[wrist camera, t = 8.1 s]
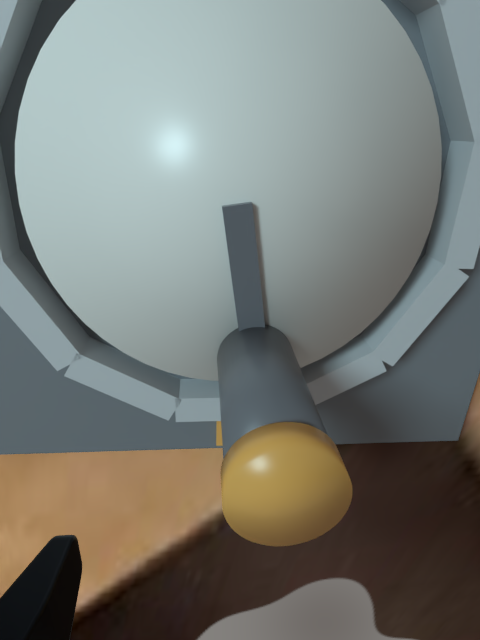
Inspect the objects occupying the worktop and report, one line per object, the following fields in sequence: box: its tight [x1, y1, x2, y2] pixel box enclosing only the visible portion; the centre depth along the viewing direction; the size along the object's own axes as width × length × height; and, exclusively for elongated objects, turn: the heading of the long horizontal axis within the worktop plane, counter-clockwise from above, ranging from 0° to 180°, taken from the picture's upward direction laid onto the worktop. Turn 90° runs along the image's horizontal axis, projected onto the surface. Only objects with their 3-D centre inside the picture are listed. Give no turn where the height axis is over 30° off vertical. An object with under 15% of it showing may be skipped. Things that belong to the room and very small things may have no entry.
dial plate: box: [0, 0, 480, 454], centre depth 16 cm, size 24×24×3 cm
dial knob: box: [15, 0, 442, 546], centre depth 12 cm, size 15×14×8 cm
